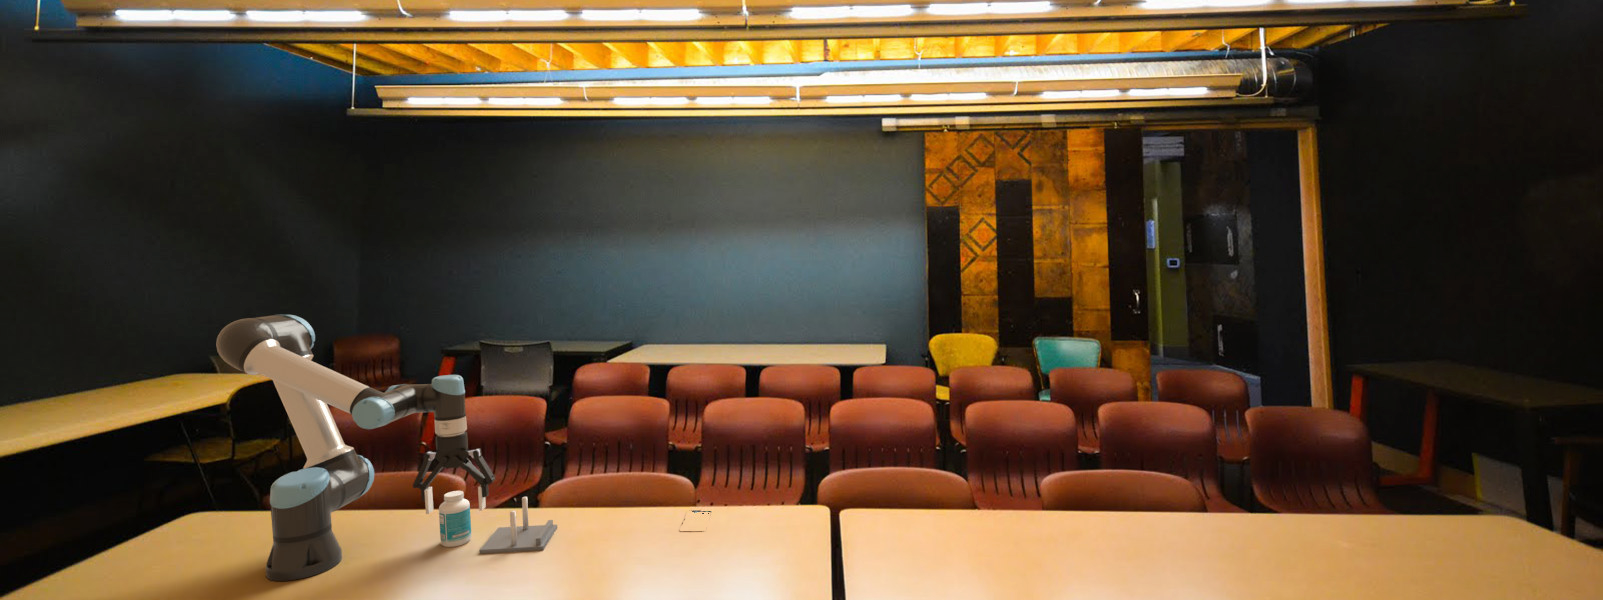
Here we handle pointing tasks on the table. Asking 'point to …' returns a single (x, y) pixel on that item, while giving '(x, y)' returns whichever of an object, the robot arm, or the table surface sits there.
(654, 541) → the table surface
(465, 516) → the pill bottle
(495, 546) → the grey peg board
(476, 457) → the robot arm
